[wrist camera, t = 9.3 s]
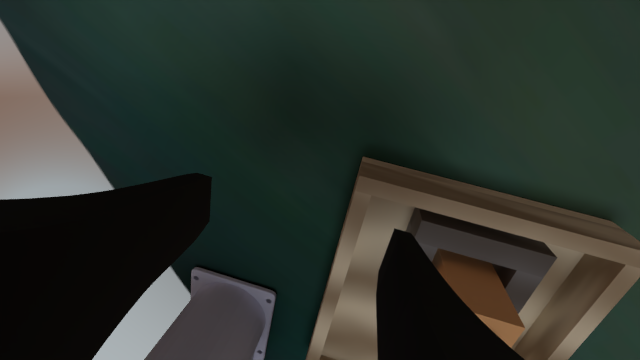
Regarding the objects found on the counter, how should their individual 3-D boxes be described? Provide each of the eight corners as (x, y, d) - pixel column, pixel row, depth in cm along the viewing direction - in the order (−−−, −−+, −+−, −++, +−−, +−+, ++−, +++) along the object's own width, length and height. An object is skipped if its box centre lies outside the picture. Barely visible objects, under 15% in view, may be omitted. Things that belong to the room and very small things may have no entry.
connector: (466, 290, 21) (502, 394, 15) (419, 276, 22) (435, 372, 15) (486, 253, 20) (536, 350, 13) (436, 239, 20) (461, 327, 14)
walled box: (476, 402, 27) (489, 449, 24) (308, 347, 28) (299, 384, 25) (611, 221, 18) (658, 255, 15) (362, 156, 20) (359, 175, 17)
